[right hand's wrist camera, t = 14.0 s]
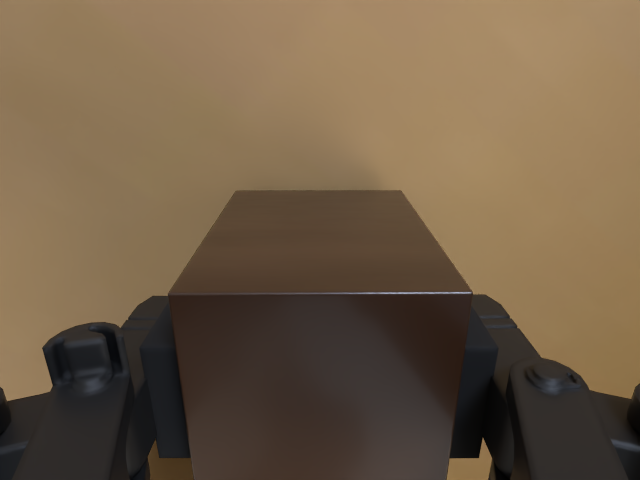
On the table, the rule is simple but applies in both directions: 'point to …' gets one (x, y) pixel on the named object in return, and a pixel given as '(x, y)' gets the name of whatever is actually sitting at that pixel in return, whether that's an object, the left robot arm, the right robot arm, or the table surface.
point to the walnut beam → (320, 340)
